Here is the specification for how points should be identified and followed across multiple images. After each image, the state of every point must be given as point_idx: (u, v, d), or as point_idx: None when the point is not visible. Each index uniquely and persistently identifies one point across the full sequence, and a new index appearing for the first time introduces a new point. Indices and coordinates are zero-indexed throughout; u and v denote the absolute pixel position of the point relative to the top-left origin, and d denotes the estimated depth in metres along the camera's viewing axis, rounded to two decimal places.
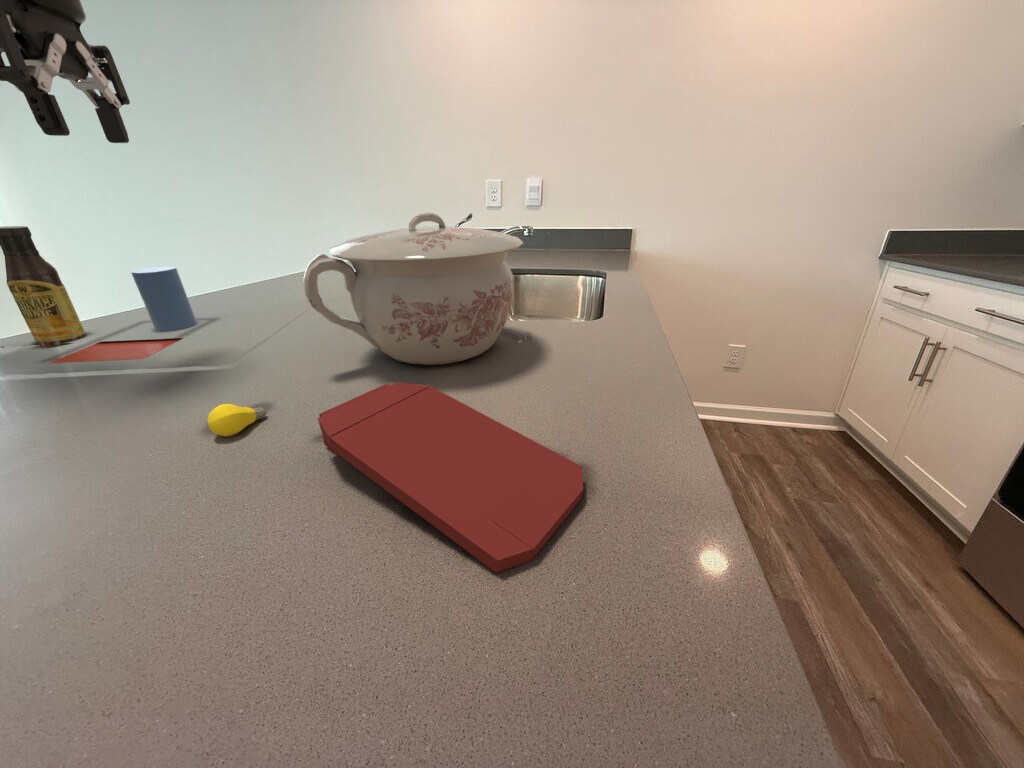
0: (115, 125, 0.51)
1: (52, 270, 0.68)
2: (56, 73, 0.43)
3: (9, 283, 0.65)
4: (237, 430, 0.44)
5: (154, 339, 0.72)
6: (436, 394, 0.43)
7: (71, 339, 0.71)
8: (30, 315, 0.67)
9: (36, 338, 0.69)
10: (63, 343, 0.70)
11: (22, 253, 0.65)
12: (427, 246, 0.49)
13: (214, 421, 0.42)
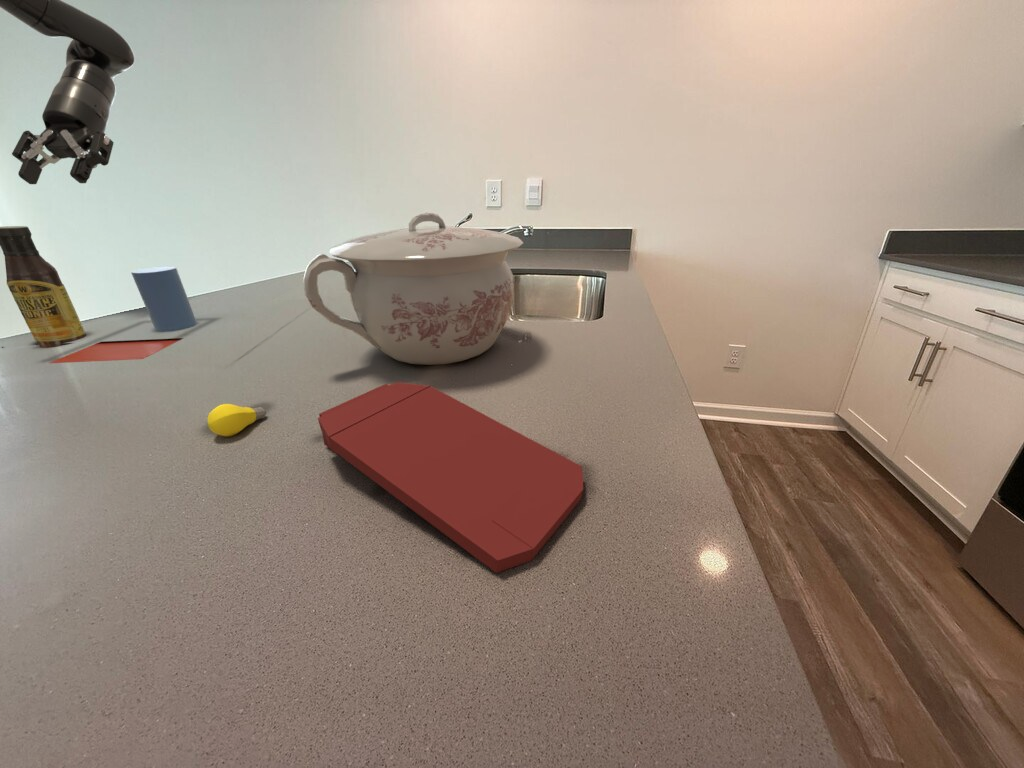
0: (35, 174, 0.72)
1: (52, 270, 0.68)
2: None
3: (9, 283, 0.65)
4: (237, 430, 0.44)
5: (154, 339, 0.72)
6: (436, 394, 0.43)
7: (71, 339, 0.71)
8: (30, 315, 0.67)
9: (36, 338, 0.69)
10: (63, 343, 0.70)
11: (22, 253, 0.65)
12: (427, 246, 0.49)
13: (214, 421, 0.42)
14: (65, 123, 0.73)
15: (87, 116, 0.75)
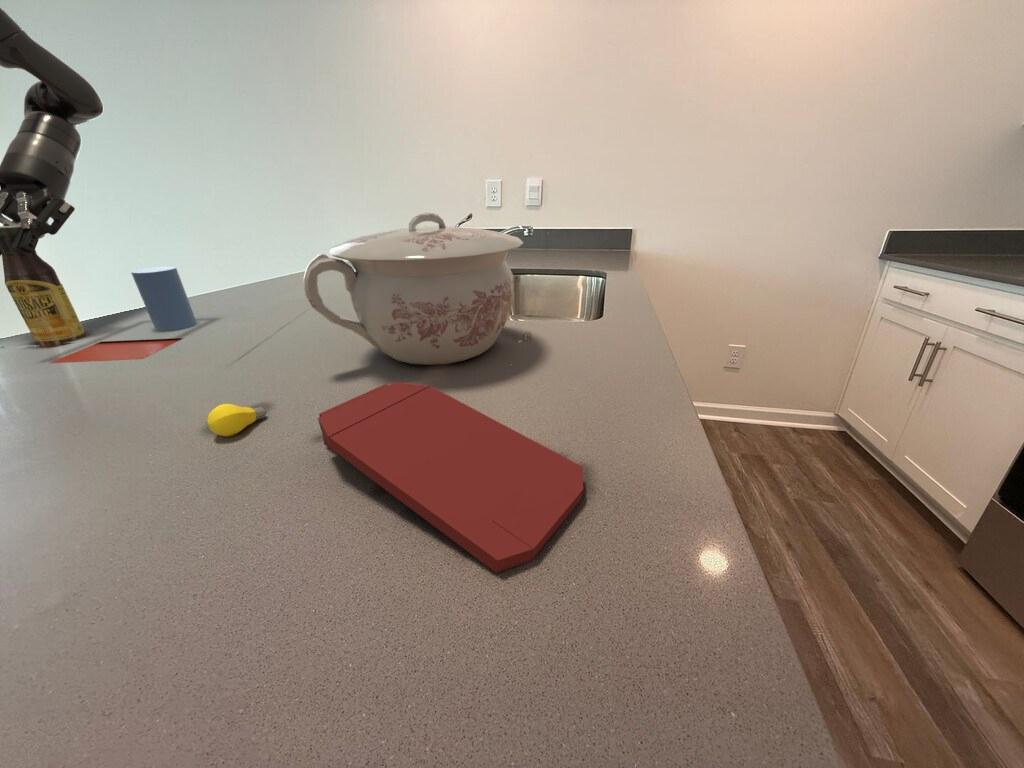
0: None
1: (50, 269, 0.68)
2: None
3: (7, 283, 0.65)
4: (237, 430, 0.44)
5: (154, 339, 0.72)
6: (436, 394, 0.43)
7: (71, 338, 0.71)
8: (29, 315, 0.67)
9: (36, 338, 0.69)
10: (63, 343, 0.70)
11: None
12: (427, 246, 0.49)
13: (214, 421, 0.42)
14: (22, 184, 0.66)
15: (47, 175, 0.67)
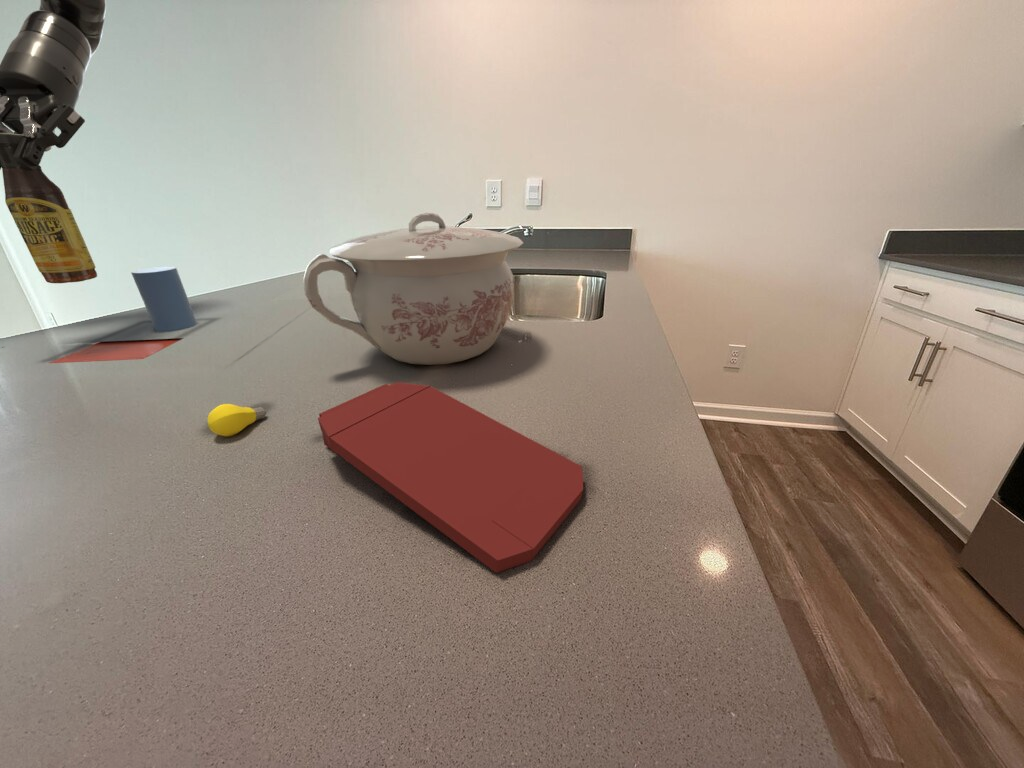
0: None
1: (57, 189, 0.59)
2: None
3: (8, 201, 0.56)
4: (237, 430, 0.44)
5: (154, 339, 0.72)
6: (436, 394, 0.43)
7: (80, 272, 0.63)
8: (34, 241, 0.59)
9: (41, 269, 0.60)
10: (71, 276, 0.62)
11: (22, 166, 0.56)
12: (427, 246, 0.49)
13: (214, 421, 0.42)
14: (25, 89, 0.58)
15: (53, 80, 0.59)
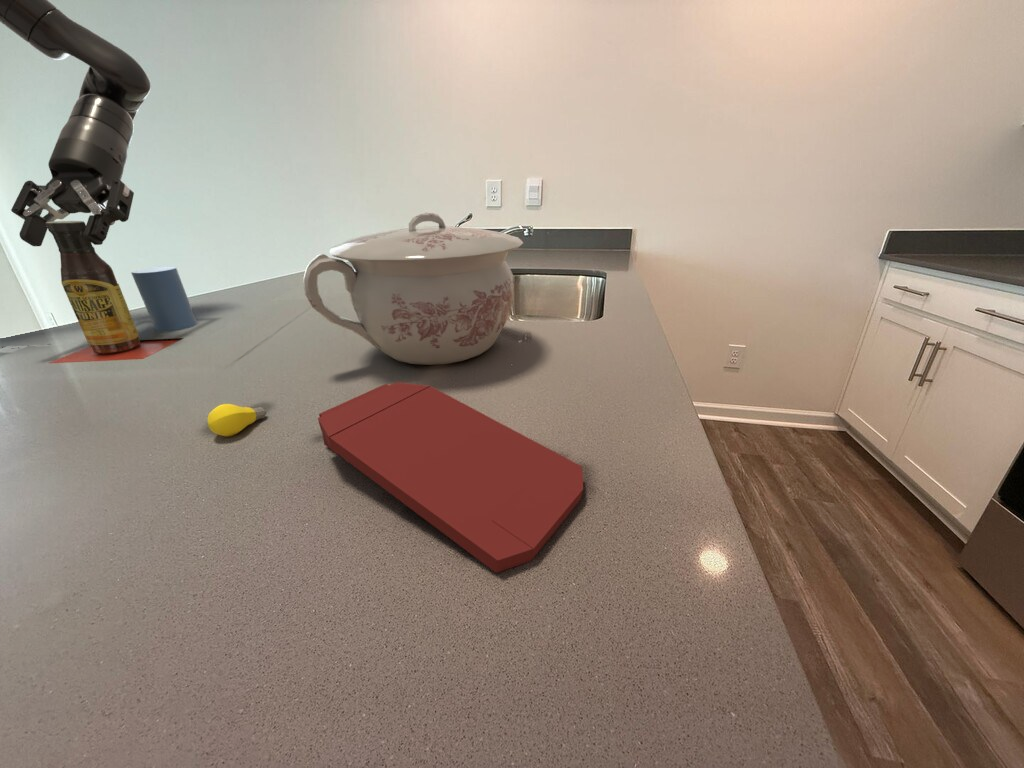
0: (40, 234, 0.60)
1: (109, 268, 0.63)
2: None
3: (65, 282, 0.60)
4: (237, 430, 0.44)
5: (154, 339, 0.72)
6: (436, 394, 0.43)
7: (126, 342, 0.66)
8: (86, 317, 0.62)
9: (90, 341, 0.64)
10: (118, 347, 0.65)
11: (79, 250, 0.60)
12: (427, 246, 0.49)
13: (214, 421, 0.42)
14: (76, 172, 0.61)
15: (102, 162, 0.62)
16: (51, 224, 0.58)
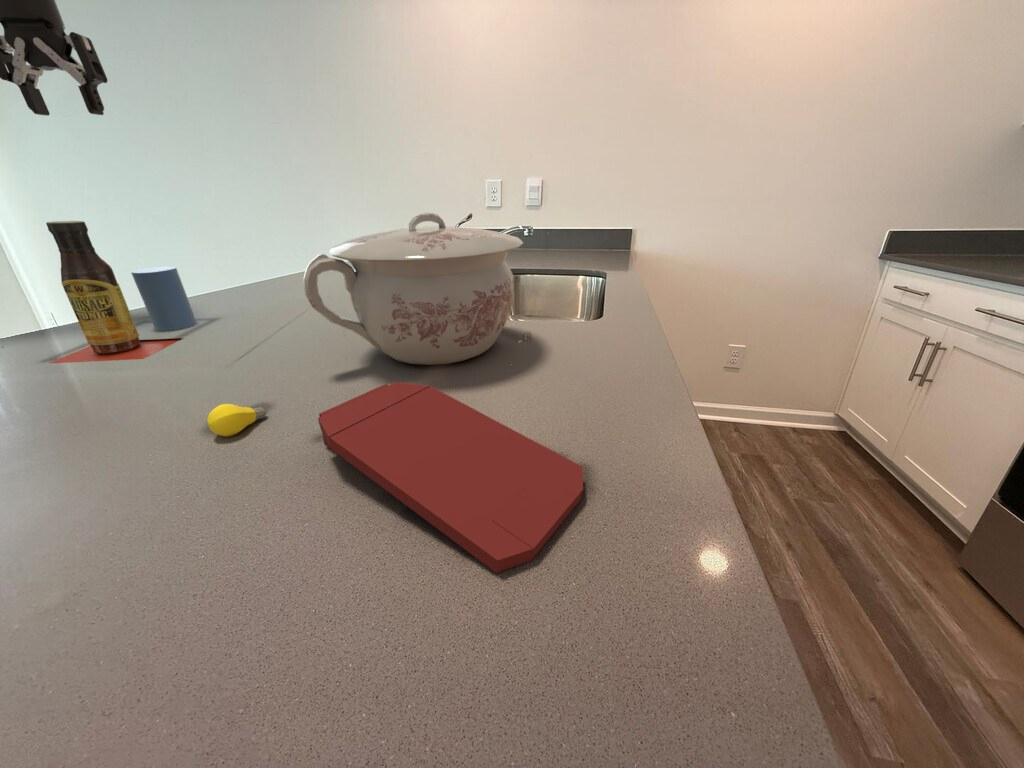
0: (41, 101, 0.67)
1: (109, 268, 0.63)
2: (81, 74, 0.66)
3: (65, 282, 0.60)
4: (237, 430, 0.44)
5: (154, 339, 0.72)
6: (436, 394, 0.43)
7: (126, 342, 0.66)
8: (86, 317, 0.62)
9: (90, 341, 0.64)
10: (118, 347, 0.65)
11: (79, 250, 0.60)
12: (427, 246, 0.49)
13: (214, 421, 0.42)
14: (25, 21, 0.61)
15: (41, 4, 0.60)
16: (51, 224, 0.58)
